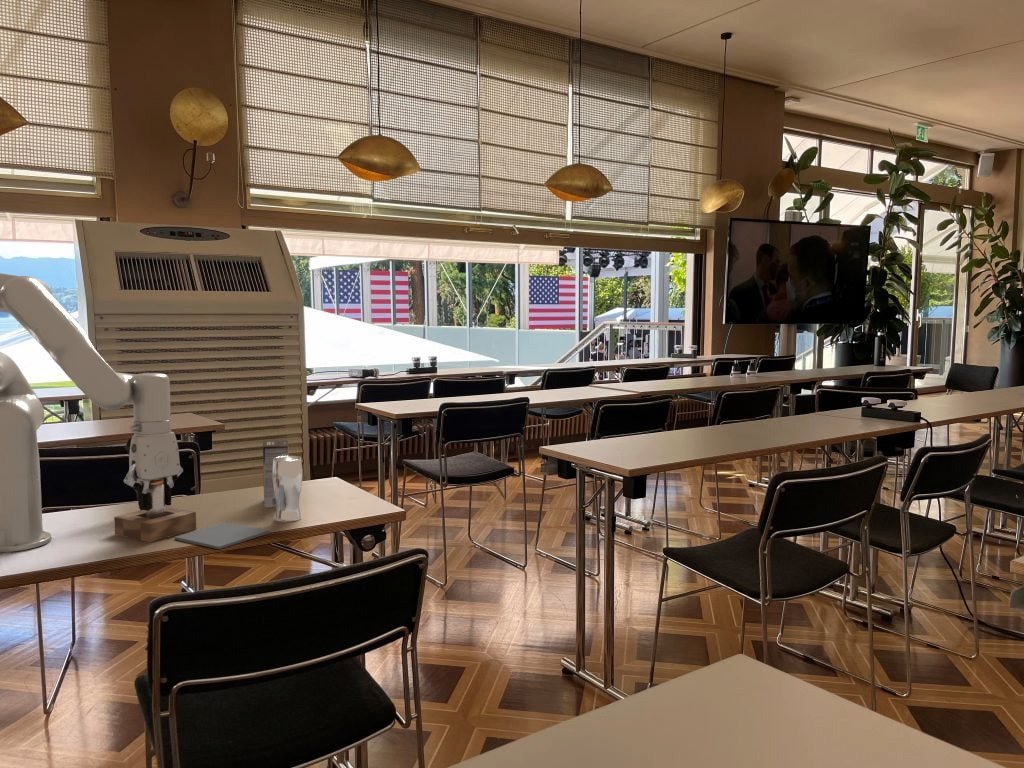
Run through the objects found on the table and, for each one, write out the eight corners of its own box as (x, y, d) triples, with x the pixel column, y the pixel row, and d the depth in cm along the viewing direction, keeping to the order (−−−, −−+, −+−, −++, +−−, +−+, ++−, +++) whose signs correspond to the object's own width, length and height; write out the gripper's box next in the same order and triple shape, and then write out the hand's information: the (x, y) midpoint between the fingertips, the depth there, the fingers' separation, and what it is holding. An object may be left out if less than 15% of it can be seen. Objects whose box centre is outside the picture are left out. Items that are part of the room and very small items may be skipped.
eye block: (149, 542, 164) (149, 524, 164) (114, 534, 170) (114, 516, 169) (196, 528, 175) (195, 511, 174) (161, 521, 180) (161, 505, 180)
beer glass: (271, 517, 185) (269, 456, 184) (299, 513, 189) (298, 454, 187) (276, 524, 179) (275, 462, 178) (305, 520, 183) (304, 459, 181)
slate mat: (219, 549, 160) (219, 546, 160) (175, 539, 166) (174, 536, 166) (269, 533, 172) (269, 530, 172) (226, 524, 179) (226, 521, 178)
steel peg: (154, 535, 170) (152, 482, 168) (142, 532, 171) (140, 480, 170) (169, 530, 173) (168, 479, 172) (158, 528, 175) (156, 477, 174)
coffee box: (264, 499, 203) (262, 440, 201) (289, 498, 205) (288, 439, 203) (263, 508, 194) (262, 446, 193) (289, 506, 196) (288, 445, 195)
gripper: (129, 434, 161) (132, 518, 163) (195, 424, 176) (197, 501, 177) (106, 431, 164) (110, 513, 166) (174, 422, 179) (176, 497, 181)
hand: (155, 506), depth 172 cm, fingers open, 4 cm apart
